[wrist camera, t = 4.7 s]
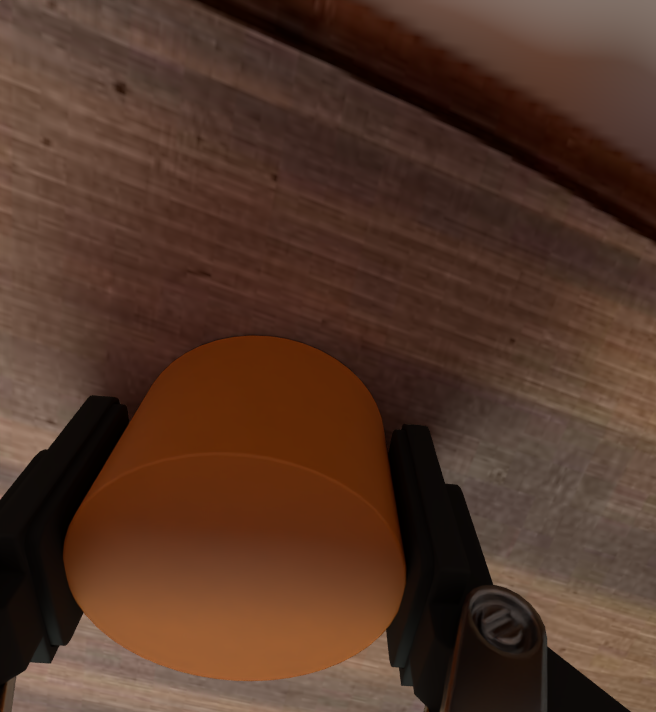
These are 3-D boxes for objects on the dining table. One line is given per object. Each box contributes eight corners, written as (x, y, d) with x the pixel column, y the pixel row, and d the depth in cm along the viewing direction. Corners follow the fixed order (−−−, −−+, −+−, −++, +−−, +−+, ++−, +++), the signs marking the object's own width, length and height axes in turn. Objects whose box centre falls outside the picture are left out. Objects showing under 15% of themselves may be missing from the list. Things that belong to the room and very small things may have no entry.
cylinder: (404, 348, 11) (441, 471, 7) (365, 537, 14) (377, 690, 10) (131, 321, 11) (32, 436, 7) (148, 519, 13) (84, 672, 10)
